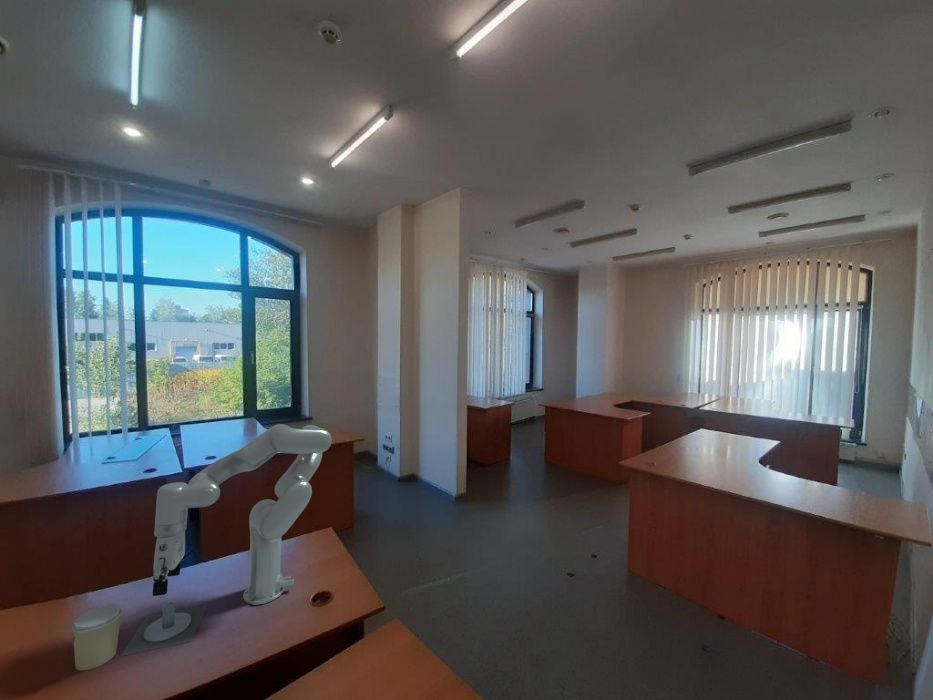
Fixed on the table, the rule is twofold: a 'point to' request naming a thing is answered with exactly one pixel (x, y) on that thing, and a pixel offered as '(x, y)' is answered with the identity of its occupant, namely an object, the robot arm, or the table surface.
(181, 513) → the robot arm
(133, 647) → the mat
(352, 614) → the table surface
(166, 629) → the lid
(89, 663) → the coffee cup
